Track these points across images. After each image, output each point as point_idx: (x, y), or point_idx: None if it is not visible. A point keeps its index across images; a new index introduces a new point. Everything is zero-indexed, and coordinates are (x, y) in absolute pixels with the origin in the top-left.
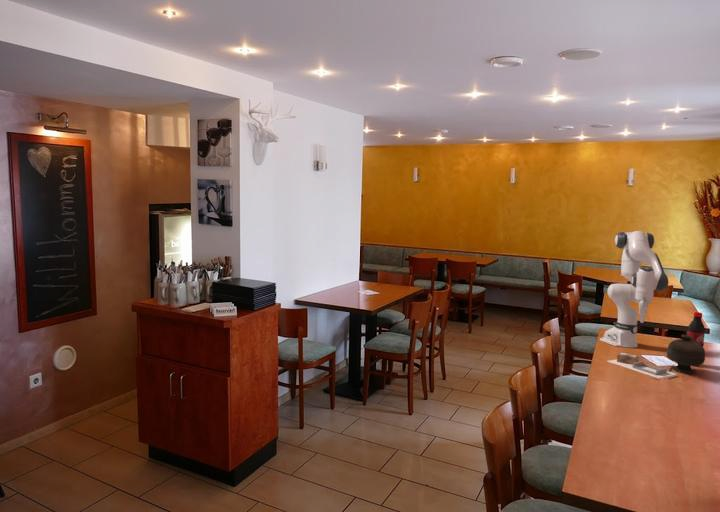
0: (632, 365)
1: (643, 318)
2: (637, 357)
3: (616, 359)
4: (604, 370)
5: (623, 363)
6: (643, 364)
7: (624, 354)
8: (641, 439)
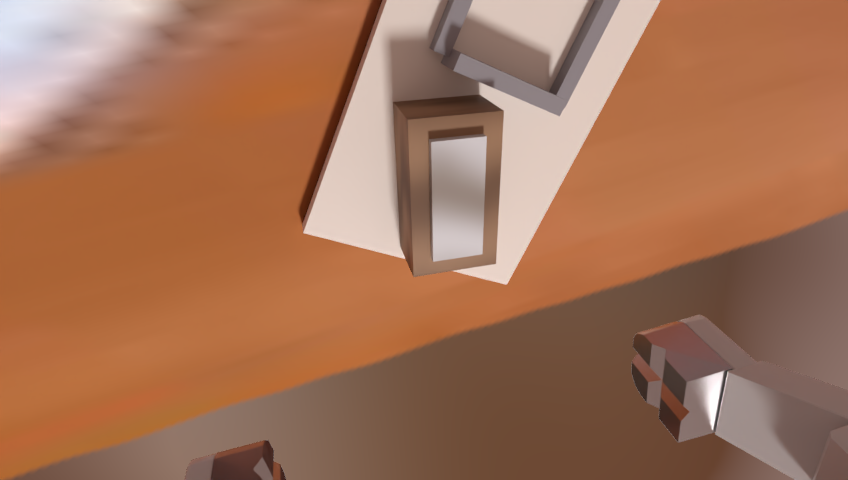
0: None
1: (812, 394)
2: (461, 120)
3: None
4: (667, 227)
5: None
6: (451, 48)
7: (475, 226)
8: None
